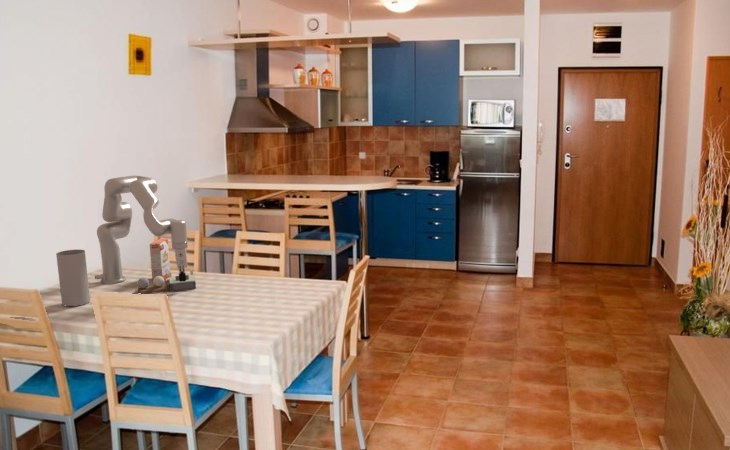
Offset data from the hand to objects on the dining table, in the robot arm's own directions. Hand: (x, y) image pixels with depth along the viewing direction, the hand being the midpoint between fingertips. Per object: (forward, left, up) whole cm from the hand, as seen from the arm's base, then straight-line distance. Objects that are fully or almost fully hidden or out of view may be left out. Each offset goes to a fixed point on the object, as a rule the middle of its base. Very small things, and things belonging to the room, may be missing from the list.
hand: (182, 280), depth 343 cm
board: (-15, +7, -5) cm, 18 cm away
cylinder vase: (-50, -2, -5) cm, 50 cm away
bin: (0, +14, -5) cm, 15 cm away
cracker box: (-10, +29, -5) cm, 32 cm away
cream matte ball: (-11, +7, -1) cm, 14 cm away
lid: (0, +8, -2) cm, 8 cm away
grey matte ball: (-19, +7, -1) cm, 20 cm away
